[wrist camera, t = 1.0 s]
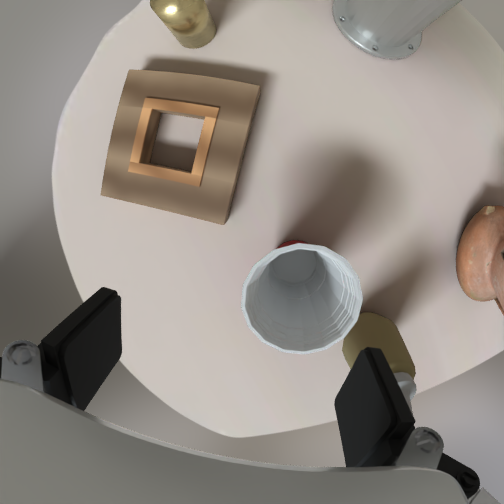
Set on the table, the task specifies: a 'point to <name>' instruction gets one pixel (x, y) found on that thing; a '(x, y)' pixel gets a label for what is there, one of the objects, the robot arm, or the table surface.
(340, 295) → the plastic cup
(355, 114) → the table surface
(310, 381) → the table surface
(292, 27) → the table surface
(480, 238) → the ceramic jug
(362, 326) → the squeeze bottle
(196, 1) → the brass peg
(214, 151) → the walnut plate
